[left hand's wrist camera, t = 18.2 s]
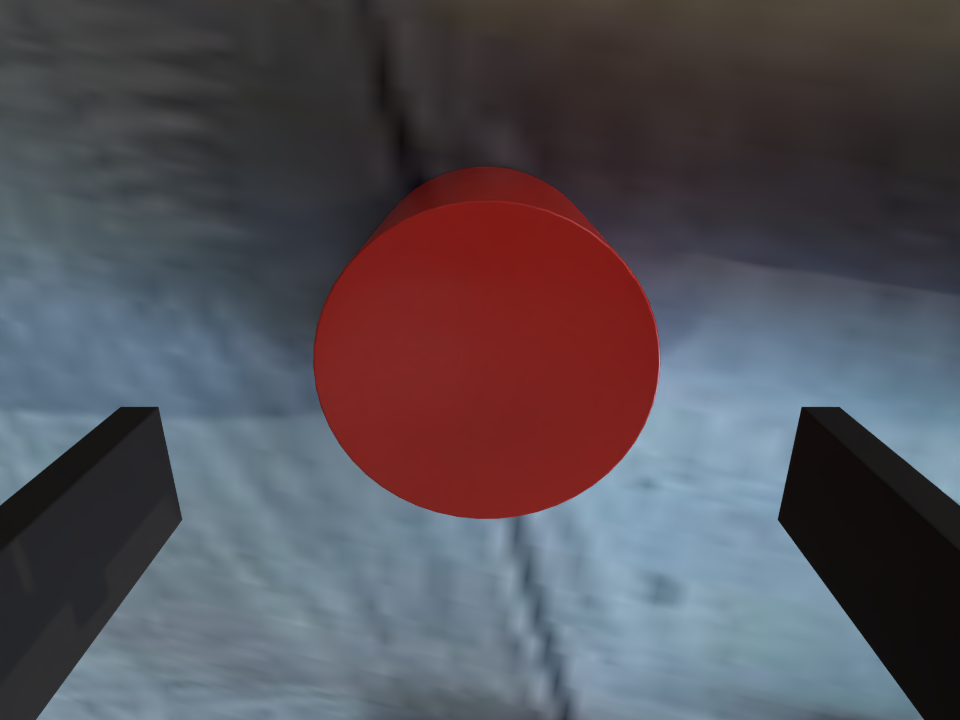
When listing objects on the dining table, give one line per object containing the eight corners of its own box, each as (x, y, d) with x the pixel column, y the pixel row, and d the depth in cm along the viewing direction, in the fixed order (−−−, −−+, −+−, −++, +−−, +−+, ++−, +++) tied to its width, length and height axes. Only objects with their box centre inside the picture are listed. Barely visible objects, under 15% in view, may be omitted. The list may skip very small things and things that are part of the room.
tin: (496, 109, 21) (503, 113, 14) (652, 298, 24) (729, 390, 16) (317, 280, 24) (240, 364, 16) (476, 436, 26) (474, 570, 19)
